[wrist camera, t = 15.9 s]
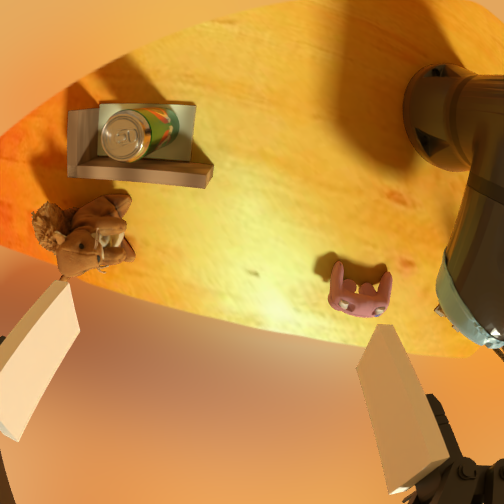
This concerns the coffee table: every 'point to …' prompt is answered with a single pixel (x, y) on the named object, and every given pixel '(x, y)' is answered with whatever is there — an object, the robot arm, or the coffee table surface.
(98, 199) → the stuffed squirrel
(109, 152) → the soda can
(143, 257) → the coffee table surface
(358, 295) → the video game controller
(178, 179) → the brown wooden angled piece
